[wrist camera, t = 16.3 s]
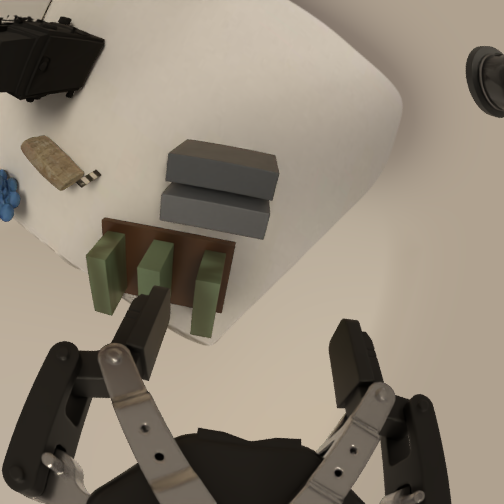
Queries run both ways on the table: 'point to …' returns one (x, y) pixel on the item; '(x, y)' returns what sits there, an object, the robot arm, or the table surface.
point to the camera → (44, 57)
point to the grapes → (8, 196)
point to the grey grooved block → (219, 188)
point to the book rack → (183, 269)
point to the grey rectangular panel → (23, 8)
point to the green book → (156, 267)
